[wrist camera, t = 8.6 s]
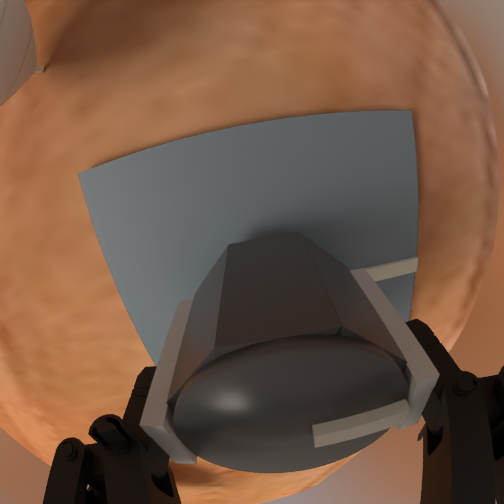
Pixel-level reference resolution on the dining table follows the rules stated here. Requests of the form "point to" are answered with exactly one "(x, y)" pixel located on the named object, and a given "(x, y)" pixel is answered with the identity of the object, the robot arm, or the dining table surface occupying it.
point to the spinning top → (16, 48)
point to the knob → (284, 362)
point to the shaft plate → (257, 205)
